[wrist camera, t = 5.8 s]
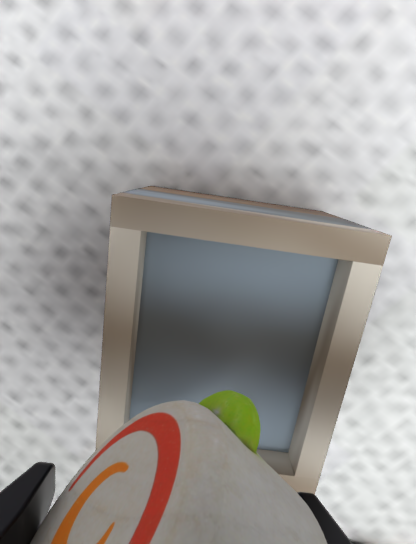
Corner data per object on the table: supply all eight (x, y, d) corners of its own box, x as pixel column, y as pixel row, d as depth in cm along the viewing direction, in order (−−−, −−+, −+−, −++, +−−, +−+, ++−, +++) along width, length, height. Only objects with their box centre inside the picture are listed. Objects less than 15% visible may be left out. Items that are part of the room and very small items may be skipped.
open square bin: (279, 390, 21) (313, 498, 14) (133, 371, 21) (94, 471, 14) (321, 211, 18) (391, 235, 11) (150, 185, 18) (111, 194, 11)
